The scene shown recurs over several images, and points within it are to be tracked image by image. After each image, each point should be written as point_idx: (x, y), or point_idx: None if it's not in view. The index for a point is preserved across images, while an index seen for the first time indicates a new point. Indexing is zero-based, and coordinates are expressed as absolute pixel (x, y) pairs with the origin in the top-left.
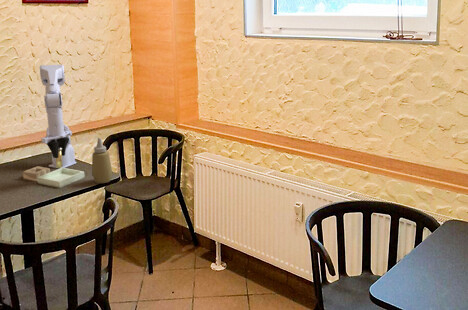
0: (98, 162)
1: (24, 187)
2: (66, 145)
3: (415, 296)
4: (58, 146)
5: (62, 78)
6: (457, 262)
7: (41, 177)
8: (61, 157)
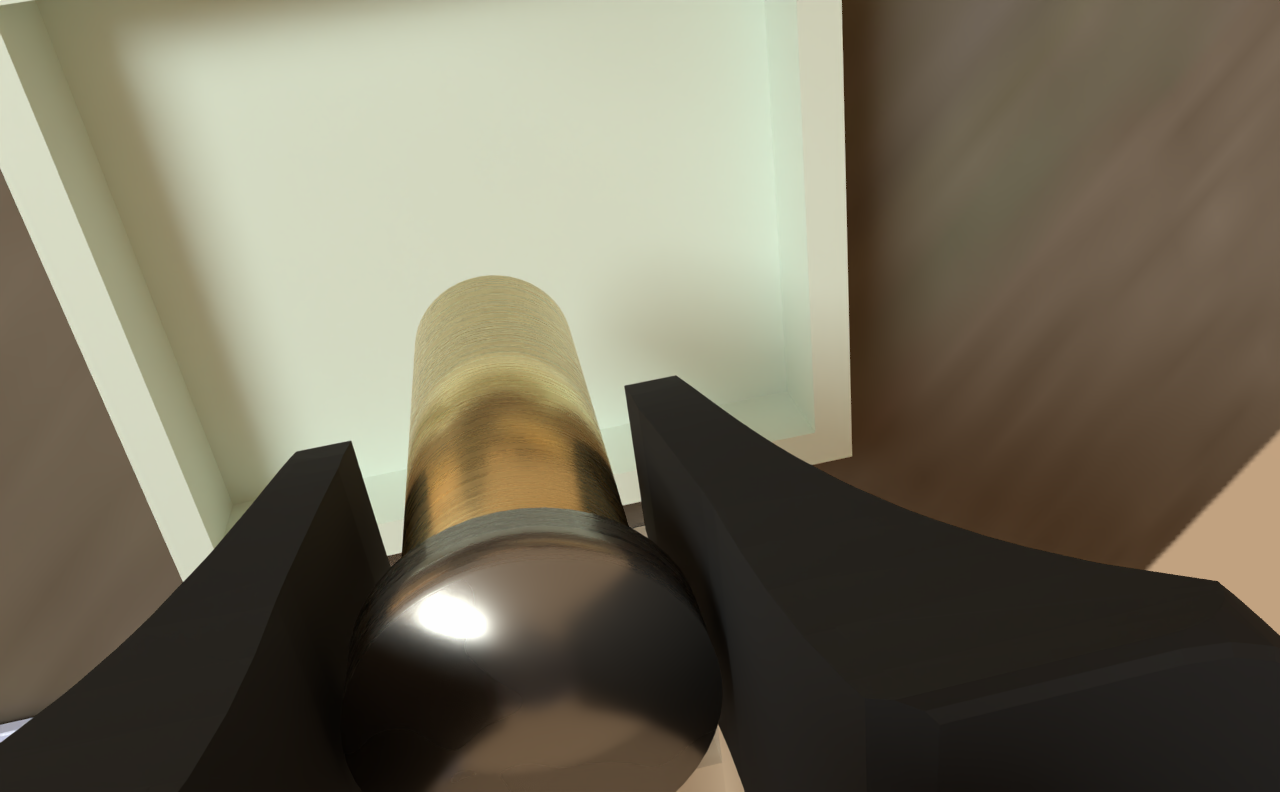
0: None
1: (1039, 390)
2: (96, 682)
3: None
4: (777, 583)
5: None
6: None
7: (819, 393)
8: (467, 401)
